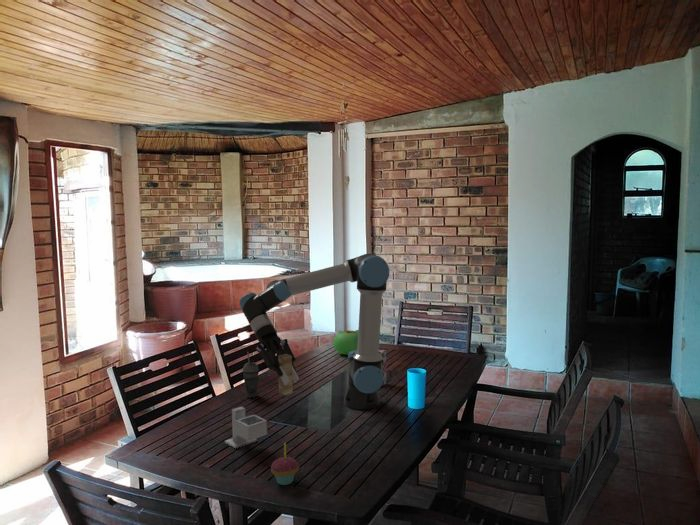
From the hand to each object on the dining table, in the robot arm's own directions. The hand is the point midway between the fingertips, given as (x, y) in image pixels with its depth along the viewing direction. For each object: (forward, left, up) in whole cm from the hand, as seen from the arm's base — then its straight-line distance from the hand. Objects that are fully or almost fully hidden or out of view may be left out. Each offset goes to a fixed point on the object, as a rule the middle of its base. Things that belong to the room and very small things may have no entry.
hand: (292, 381), depth 189 cm
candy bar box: (-14, -68, -21) cm, 73 cm away
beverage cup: (+35, -37, -21) cm, 55 cm away
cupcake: (-9, +29, -21) cm, 37 cm away
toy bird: (+12, -116, -21) cm, 118 cm away
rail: (+3, -2, -5) cm, 6 cm away
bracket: (+14, +9, -21) cm, 27 cm away
